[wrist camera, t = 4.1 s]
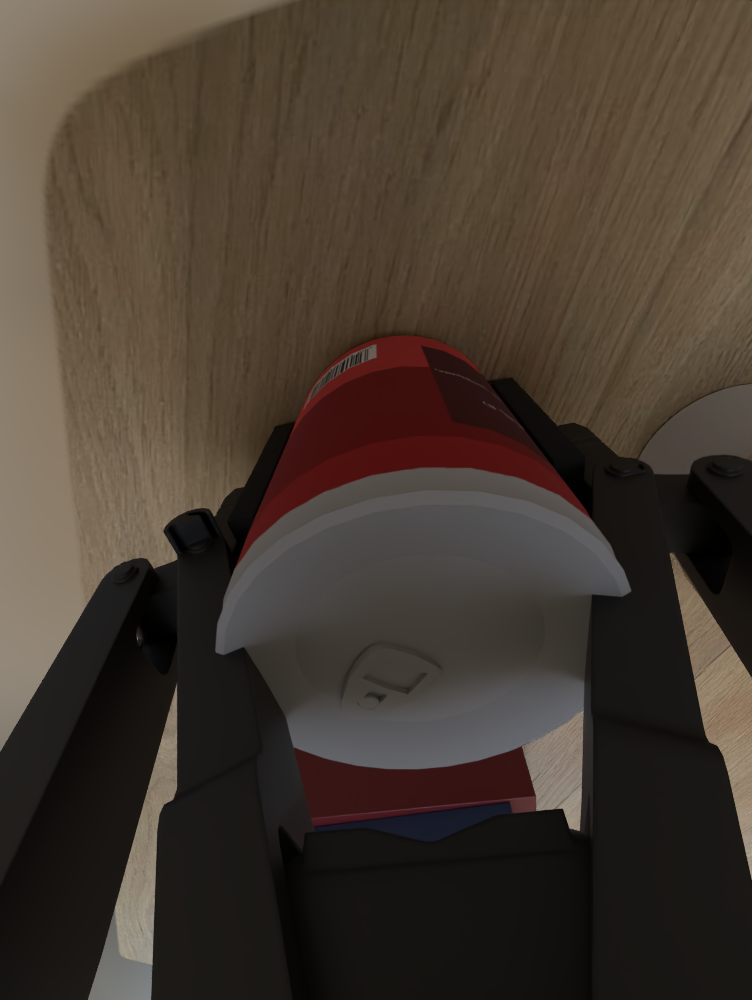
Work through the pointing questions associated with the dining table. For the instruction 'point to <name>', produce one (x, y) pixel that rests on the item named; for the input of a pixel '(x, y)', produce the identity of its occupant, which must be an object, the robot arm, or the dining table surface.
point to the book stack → (414, 794)
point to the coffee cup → (703, 433)
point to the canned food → (416, 569)
